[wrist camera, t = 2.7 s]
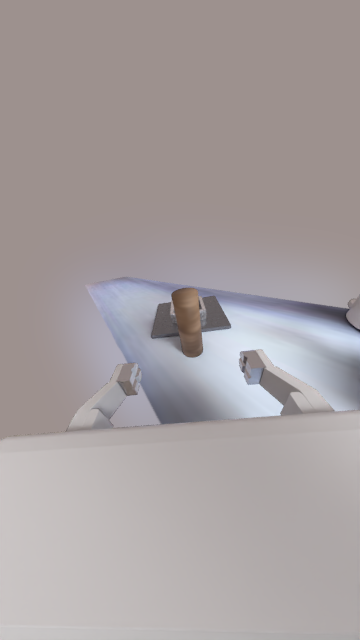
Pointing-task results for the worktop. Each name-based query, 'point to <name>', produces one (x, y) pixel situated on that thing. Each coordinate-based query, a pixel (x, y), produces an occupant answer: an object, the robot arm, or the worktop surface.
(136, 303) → the worktop surface
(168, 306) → the plate
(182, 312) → the walnut peg
